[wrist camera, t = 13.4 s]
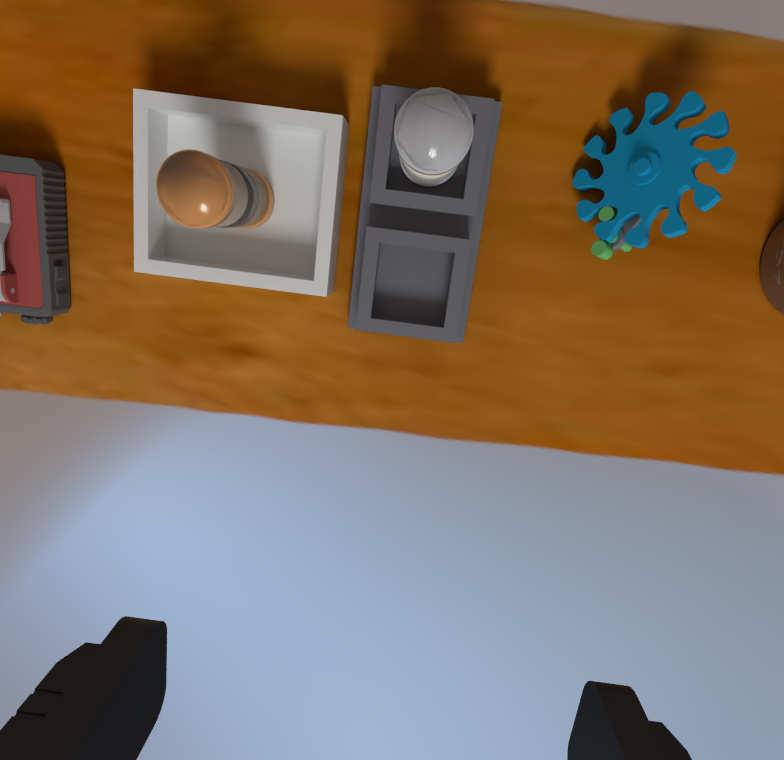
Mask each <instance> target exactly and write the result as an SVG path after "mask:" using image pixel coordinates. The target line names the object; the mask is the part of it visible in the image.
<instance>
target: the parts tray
mask: <svg viewBox="0 0 784 760" xmlns="http://www.w3.org/2000/svg"><path fill="white" fill-rule="evenodd" d="M349 126H350V125H349V124H348V122H347V121H346V119H345V118H344V116H343V115H337V114H329V113H321V112H314V111H306V110H298V109H290V108H282V107H274V106H267V105H259V104H251V103H243V102H235V101H228V100H220V99H212V98H204V97H196V96H189V95H181V94H173V93H165V92H157V91H149V90H142V89H134V88H133V152H134V272H141V273H148V274H156V275H164V276H171V277H179V278H187V279H194V280H202V281H210V282H217V283H225V284H233V285H240V286H248V287H256V288H263V289H271V290H278V291H286V292H294V293H301V294H309V295H317V296H324V297H327V296H328V295H330V294H331V293H332V292H334V284H335V274H336V263H337V253H338V242H339V231H340V221H341V210H342V200H343V189H344V179H345V168H346V157H347V147H348V136H349ZM188 149H189V150H197V151H201V152H204V153H206V154H209V155H212V156H214V157H216V158H217V159H219V160H223V161H226V162H229V163H232V164H234V165H237V166H240V167H243V168H247V169H250V170H253V171H256V172H258V173H260V174H261V175H262V176H264V177H265V178H266V179H267V181H268V182H269V183H270V185H271V187H272V189H273V192H274V198H275V204H274V209H273V212H272V214H271V216H270V218H269V219H268V220H267V221H266V222H265V223H264V224H263V225H261V226H259V227H256V228H251V229H242V228H236V227H235V228H219V227H211V228H190V227H186V226H183V225H181V224H179V223H177V222H176V221H174V220H173V219H172V218H170V217H169V216H168V214H167V213H166V212H165V211H164V209H163V208H162V206H161V204H160V202H159V199H158V196H157V191H156V179H157V175H158V171H159V169H160V167H161V165H162V164H163V162H164V161H165V160H166V159H167V158H168V157H169V156H170V155H172V154H174V153H176V152H178V151H181V150H188Z"/></svg>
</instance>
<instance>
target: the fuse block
mask: <svg viewBox="0 0 784 760" xmlns="http://www.w3.org/2000/svg"><path fill="white" fill-rule="evenodd" d="M420 90H422V89H414V88H406V87H398V86H390V85H382V87H379V86H373V88H372V98H371V108H370V117H369V127H368V137H367V146H366V156H365V165H364V175H363V185H362V194H361V204H360V214H359V223H358V233H357V243H356V252H355V262H354V272H353V281H352V291H351V301H350V310H349V320H348V328H353V329H356V330H360V331H368V332H375V333H383V334H390V335H398V336H406V337H413V338H421V339H429V340H436V341H444V342H451V343H455V342H460V343H463V341H464V335H465V328H466V322H467V316H468V310H469V304H470V298H471V292H472V286H473V280H474V273H475V267H476V261H477V255H478V249H479V243H480V237H481V231H482V225H483V218H484V212H485V206H486V200H487V194H488V188H489V182H490V176H491V169H492V163H493V157H494V151H495V145H496V139H497V133H498V127H499V121H500V114H501V108H502V102H497V101H494V99H492V98H484V97H477V96H469V95H461V94H457V95H458V96H459V97H460V98H461V99H462V100H463V101H464V102H465V103H466V105H467V106H468V108H469V110H470V113H471V116H472V119H473V127H474V132H473V139H472V143H471V146H470V148H469V150H468V152H467V154H466V155H465V157H464V158H463V160H462V161H461V162H460V163H459V164H458V166H457V168H456V170H455V172H454V173H453V175H452V176H451V177H450V178H449V179H448V180H447V181H446V182H444V183H443V184H441V185H439V186H435V187H422V186H419V185H417V184H415V183H413V182H412V181H410V180H409V179H408V178H407V176H406V175H405V173H404V172H403V170H402V167H401V164H400V159H399V152H398V150H397V147H396V142H395V136H394V126H395V120H396V117H397V114H398V112H399V110H400V108H401V106H402V105H403V104H404V102H405V101H406V100H407V99H408V98H409V97H410V96H412V95H413V94H414V93H416V92H418V91H420Z"/></svg>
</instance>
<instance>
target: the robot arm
mask: <svg viewBox="0 0 784 760" xmlns="http://www.w3.org/2000/svg"><path fill="white" fill-rule="evenodd" d="M760 279H761V283H762V287H763V290H764V292H765V294H766V296H767V298H768V300H769V301H770V302H771V303H772V305H773V306H774V307H775V308H776V309H777V310H779V311H780V312H782V313H783V314H784V219H783V220H782V221H781V222H780V223H779V224H778V225H777V226H776V228H775V229H774V231H773V232H772V234H771V235H770V237H769V238H768V241H767V243H766V245H765V248H764V250H763V253H762V259H761V264H760ZM166 659H167V627H166V623H165V622H163V621H156V620H148V619H141V618H134V617H127V616H126V617H123V618H121V619H120V620H119V621H118V622H117V623H116V625H115V626H114V628H113V629H112V630H111V631H110V633H109V634H108V635H107V637H106V638H105V639H104V641H103V642H102V643H101V644H93V643H85V644H83V645H82V646H80V647H79V648H77V649H76V650H74V651H73V652H71V653H70V654H69V655H67V656H66V657H64V658H63V659H61V660H60V661H58V662H57V663H56V664H55V666H54V667H53V668H52V669H51V670H50V671H49V673H48V674H47V675H46V676H45V677H44V679H43V680H42V681H41V682H40V684H39V685H38V686H37V687H36V688H35V691H34V693H33V694H30V695H29V697H28V698H27V699H26V700H25V702H24V703H23V704H22V705H21V706H20V707H19V709H18V710H17V713H16V715H15V716H14V717H13V716H12V717H11V719H9V721H8V722H7V723H6V724H5V726H4V727H3V728H2V729H1V730H0V760H136V759H137V757H138V756H139V754H140V752H141V750H142V748H143V746H144V744H145V742H146V740H147V739H148V737H149V735H150V733H151V731H152V729H153V727H154V725H155V723H156V721H157V719H158V716H159V713H160V711H161V708H162V704H163V700H164V696H165V690H166ZM568 760H692V759H691V757H690V755H689V754H688V752H687V750H686V749H685V748H684V747H683V746H682V745H681V743H680V742H679V741H678V740H677V739H676V738H675V737H674V736H673V734H672V733H671V732H670V731H669V730H668V729H667V728H666V727H665V726H664V725H663V723H661V722H654V721H648V718H647V716H646V714H645V712H644V710H643V708H642V706H641V704H640V702H639V700H638V697H637V695H636V694H635V692H634V690H633V689H632V688H631V687H629V686H624V685H616V684H609V683H602V682H594V681H588V682H587V683H586V684H585V686H584V689H583V692H582V696H581V699H580V703H579V707H578V710H577V714H576V718H575V721H574V725H573V729H572V732H571V736H570V740H569V744H568Z"/></svg>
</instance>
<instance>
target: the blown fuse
mask: <svg viewBox="0 0 784 760" xmlns="http://www.w3.org/2000/svg"><path fill="white" fill-rule="evenodd" d="M156 191H157V196H158V199H159V202H160V204H161V206H162V208H163V209H164V211H165V212H166V213H167V214H168V216H169V217H170V218H172V219H173V220H174V221H176V222H177V223H179V224H181V225H183V226H186V227H190V228H211V227H219V228H235V227H236V228H242V229H251V228H256V227H259V226H261V225H263V224H264V223H265V222H266V221H267V220H268V219H269V218H270V216H271V214H272V212H273V209H274V204H275V198H274V192H273V189H272V187H271V185H270V183H269V182H268V181H267V179H266V178H265V177H264V176H262V175H261V174H260V173H258V172H256V171H253V170H250V169H247V168H243V167H240V166H237V165H234V164H232V163H229V162H226V161H223V160H219V159H217V158H216V157H214V156H212V155H209V154H206V153H204V152H201V151H197V150H189V149H188V150H181V151H178V152H176V153H174V154H172V155H170V156H169V157H168V158H167V159H166V160H165V161H164V162H163V164H162V165H161V167H160V169H159V171H158V175H157V179H156Z"/></svg>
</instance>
